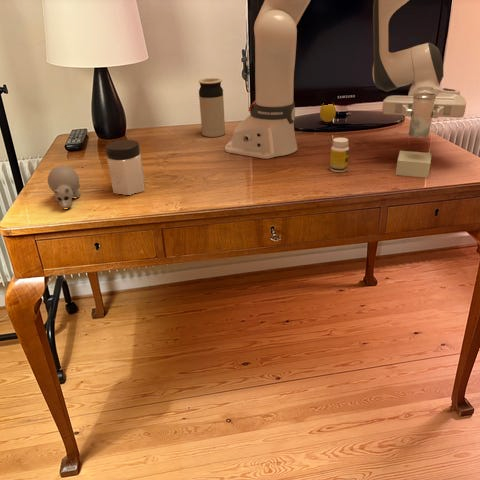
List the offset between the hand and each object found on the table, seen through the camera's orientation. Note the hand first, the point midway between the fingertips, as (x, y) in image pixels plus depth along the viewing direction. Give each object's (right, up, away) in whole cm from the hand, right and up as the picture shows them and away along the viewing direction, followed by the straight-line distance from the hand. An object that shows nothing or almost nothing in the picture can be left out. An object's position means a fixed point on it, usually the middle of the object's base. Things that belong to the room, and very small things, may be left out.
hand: (421, 114), depth 115 cm
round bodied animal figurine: (-88, -22, -1) cm, 91 cm away
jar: (-74, -18, +5) cm, 76 cm away
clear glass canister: (+1, -4, +4) cm, 6 cm away
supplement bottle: (-18, -12, +11) cm, 25 cm away
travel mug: (-54, +5, +44) cm, 70 cm away
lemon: (-14, +10, +51) cm, 54 cm away
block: (+1, -13, +8) cm, 15 cm away
